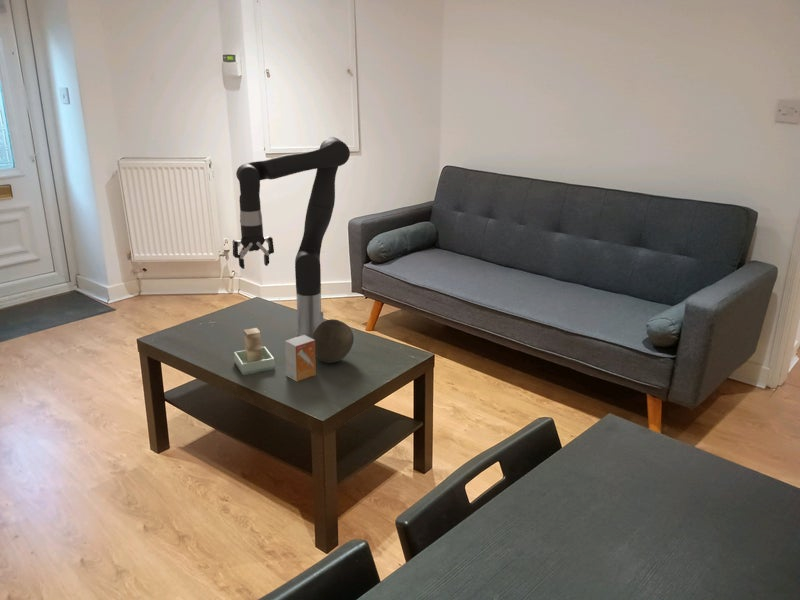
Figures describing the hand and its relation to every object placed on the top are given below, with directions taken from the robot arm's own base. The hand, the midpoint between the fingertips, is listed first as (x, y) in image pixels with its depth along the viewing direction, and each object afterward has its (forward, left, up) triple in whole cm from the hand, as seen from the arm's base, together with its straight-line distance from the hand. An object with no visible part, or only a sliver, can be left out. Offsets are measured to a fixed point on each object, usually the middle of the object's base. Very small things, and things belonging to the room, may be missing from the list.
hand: (254, 266), depth 240 cm
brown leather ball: (-19, +26, -30) cm, 44 cm away
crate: (+7, +18, -30) cm, 36 cm away
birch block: (+7, +18, -29) cm, 35 cm away
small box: (-5, +32, -30) cm, 44 cm away
